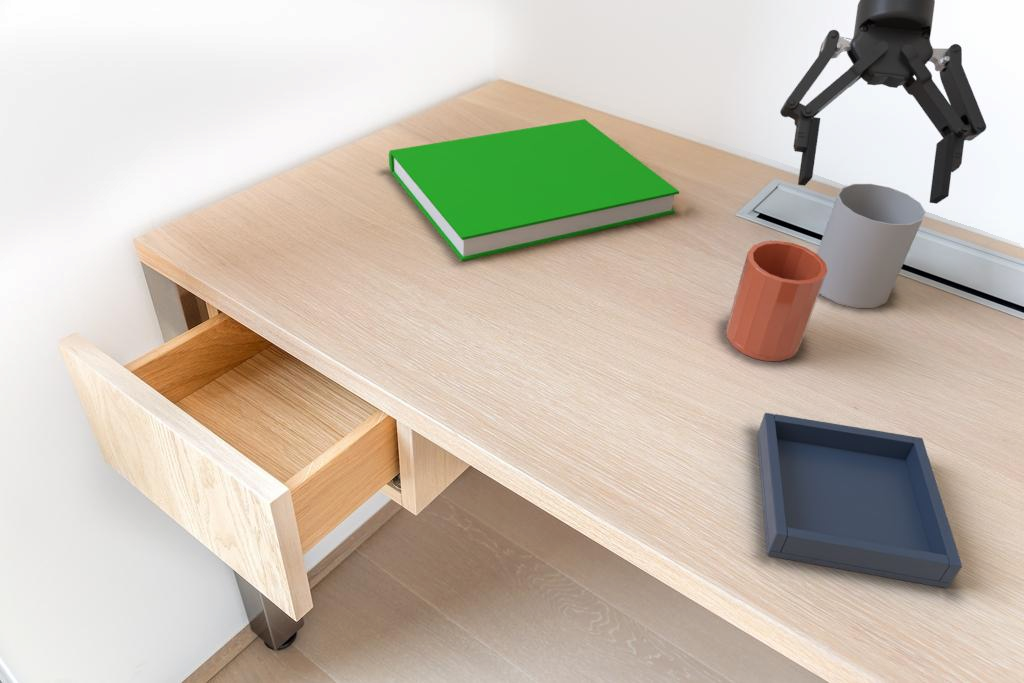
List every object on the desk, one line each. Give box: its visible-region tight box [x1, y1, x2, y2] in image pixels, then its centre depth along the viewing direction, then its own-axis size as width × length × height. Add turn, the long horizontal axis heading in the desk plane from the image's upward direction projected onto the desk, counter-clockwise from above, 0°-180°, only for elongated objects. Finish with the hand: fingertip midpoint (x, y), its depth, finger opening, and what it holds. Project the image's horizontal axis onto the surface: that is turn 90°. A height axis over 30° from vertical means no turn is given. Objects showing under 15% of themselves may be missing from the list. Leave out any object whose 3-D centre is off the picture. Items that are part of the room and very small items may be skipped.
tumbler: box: [725, 240, 827, 362], centre depth 75 cm, size 7×7×9 cm
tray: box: [756, 412, 963, 589], centre depth 61 cm, size 13×13×3 cm
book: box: [388, 118, 680, 262], centre depth 97 cm, size 22×28×3 cm
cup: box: [816, 183, 926, 309], centre depth 83 cm, size 8×8×10 cm
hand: (871, 190), depth 83 cm, fingers open, 13 cm apart
